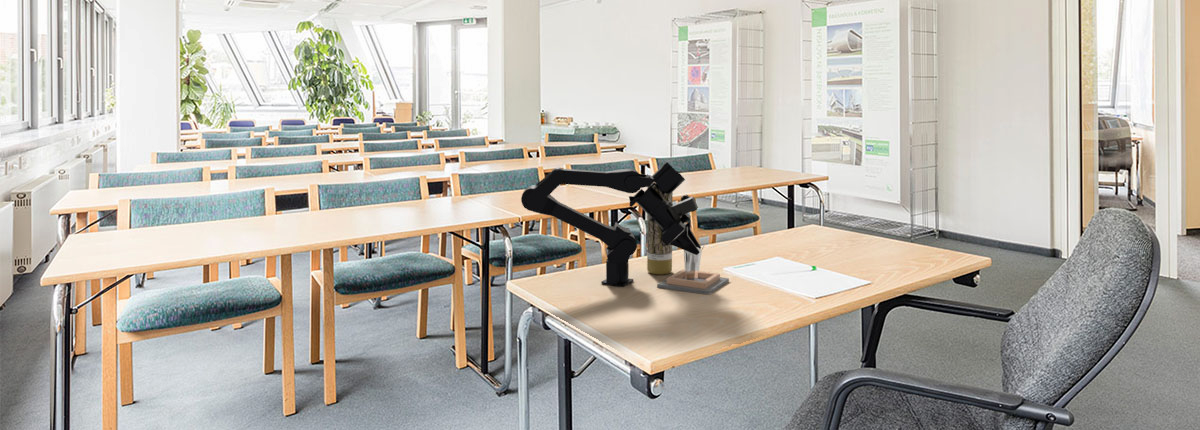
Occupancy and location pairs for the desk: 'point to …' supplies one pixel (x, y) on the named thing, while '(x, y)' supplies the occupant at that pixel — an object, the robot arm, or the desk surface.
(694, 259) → the milkshake
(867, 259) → the desk surface
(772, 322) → the desk surface
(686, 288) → the dock
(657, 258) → the brown tall cylinder
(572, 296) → the desk surface
